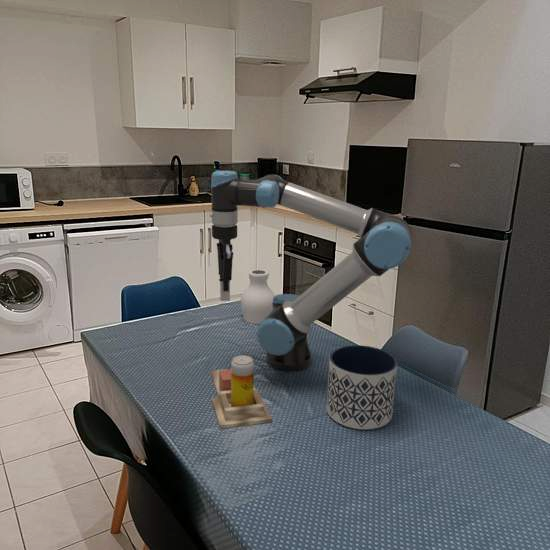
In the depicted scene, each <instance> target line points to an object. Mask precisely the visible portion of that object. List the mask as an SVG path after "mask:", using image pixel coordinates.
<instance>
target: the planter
mask: <svg viewBox="0 0 550 550" xmlns="http://www.w3.org/2000/svg"><path fill="white" fill-rule="evenodd" d="M397 370H398V361H397V359H396V357H395V356H394V355H392V354H391V353H389V352H388V351H386V350H384V349H380V348H378V347H375V346H370V345H361V344H360V345H358V344H356V345H355V344H354V345H345V346H341V347H338V348H335V350H333V351H332V352H331V353H330V354H329V360H328V373H327V374H328V375H327V376H328V377H327V390H326V391H327V393H326V396H327V397H326V411H327V414H328V415H329V417H330V418H331V419H332V420H334V421H335V422H336V423H338V424H340V425H342V426H345V427H347V428H350V429H355V430H375V429H379V428H383V427H384V426H386V425H388V424H389V422H391V420H392V418H393V413H394V404H395V403H394V402H395V401H394V400H395V391H396V382H397V381H396V380H397V372H398V371H397Z"/></svg>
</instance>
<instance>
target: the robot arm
mask: <svg viewBox="0 0 550 550" xmlns="http://www.w3.org/2000/svg"><path fill="white" fill-rule="evenodd" d="M210 191H211V192H210V193H211V196H210V197H211V213H209V217H211V223H212V225H211V237H212V238H213V239H215V240H218V242H217V243H216V249H217V263H218V267H217V268H218V269H217V270H218V275H219V279H218V280H219V288H220V289H219V291H220V292H219V294H220V295H219V297H220V298H219V299H220V301H221V302H227V301H228V302H229V301H231V281H232V278H233V277H232V276H233V275H232V274H233V259H234V251H233V250H234V249H233V244H232V243H231V240H234V239H236V238H238V225H237V224H238V220H239V219H238V212H239V211H238V206H242V207H244V206H245V207H255V208H256V207H257V208H258V207H259V208H263V209H265V208H275V207H276V206H277V205H279V206H282V207H284V208H287V209H290V210H293V211H296V212H298V213H301V214H303V215H306V216H308V217H311V218H314V219H316V220H319V221H322V222H325V223H327V224H330V225H333V226H336V227H338V228H341V229H343V230H346V231H349V232H352V233H354V234H357V235H358V237H359V239H358V240H357V241H355V242H354V243H353V244H352V251H351V252H350V254H348V255H347V256H346V257H344V258H343V259H342V260H341V261H340V262H339V263H337V264H336V265H335V266H334V267H333V268H332V269H330V270H329V271H327V273H326V274H324V275H323V276H322V277H320V278H319V279H318V280H317V281H316V282H315V283H313V284H312V285H311V286H310V287H309V288H308V289H306V290H304V291H303V292H302V294H292V293H280V294H275V296H274V297H273V302H272V304H273V308H272V311H271V312H270V313H269V314H268V315H267V316H266V318H265V319H264V320H263V321H262V322H261V323H260V325H258V327H257V331H256V338H257V342H258V343H259V346H260V347H261V348H262V349H263V351H265V352H266V356H265V357H266V358H265V362H266V363H267V365H268V366H269V367H271V368H273V369H275V370H278V371H284V372H295V371H296V372H298V371H302V370H304V369H307V368H309V367H310V365H311V364H312V353H311V349H310V347H309V343H308V334H309V333H310V332H311V330H312V329H311V328H312V324H313V323H315V322H316V321H317V320H318V319H320V318H321V317H322V316H324V314H326V313H327V312H328V311H330V310H331V309H332V308H333V307H334V306H336V305H337V304H338V303H340V302H341V301H342V300H343V299H345V298H346V297H348V295H350V294H351V293H352V292H353V291H355V290H356V289H357V288H359V287H360V286H361V285H362V284H364V283H365V282H366V281H367V280H368V279H370V278H371V277H381V276H382V275H384V274H385V273H386V272H388V271H390V270H391V269H394V268H397V267H398V266H400V265H402V263H404V262H405V260H407V258H408V256H409V254H410V252H411V250H412V249H411V248H412V230H411V227H410V226H409V224H408V222H407V221H406V220H404V219H403V218H402V217H400V216H398V215H394V214H392V213H388V212H384V211H381V210H378V209H375V208H373V207H371V208H369V209H365V208H362V207H360V206H357V205H354V204H352V203H348V202H345V201H342V200H341V199H338V198H334V197H332V196H330V195H326V194H323V193H320V192H317V191H314V190H312V189H310V188H307V187H305V186H304V187H303V186H302V185H299V184H295V183H292V182H291V181H290V182H289V181H287V180H285V179H283V178H282V177H281V176H280V175H277V174H267V175H265V176H263V177H260V178H257V179H243V178H242V179H241V178H239V177H238V173H237V172H236V171H234V170H216V171H214V172H213V173H212V174H211V182H210Z"/></svg>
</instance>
